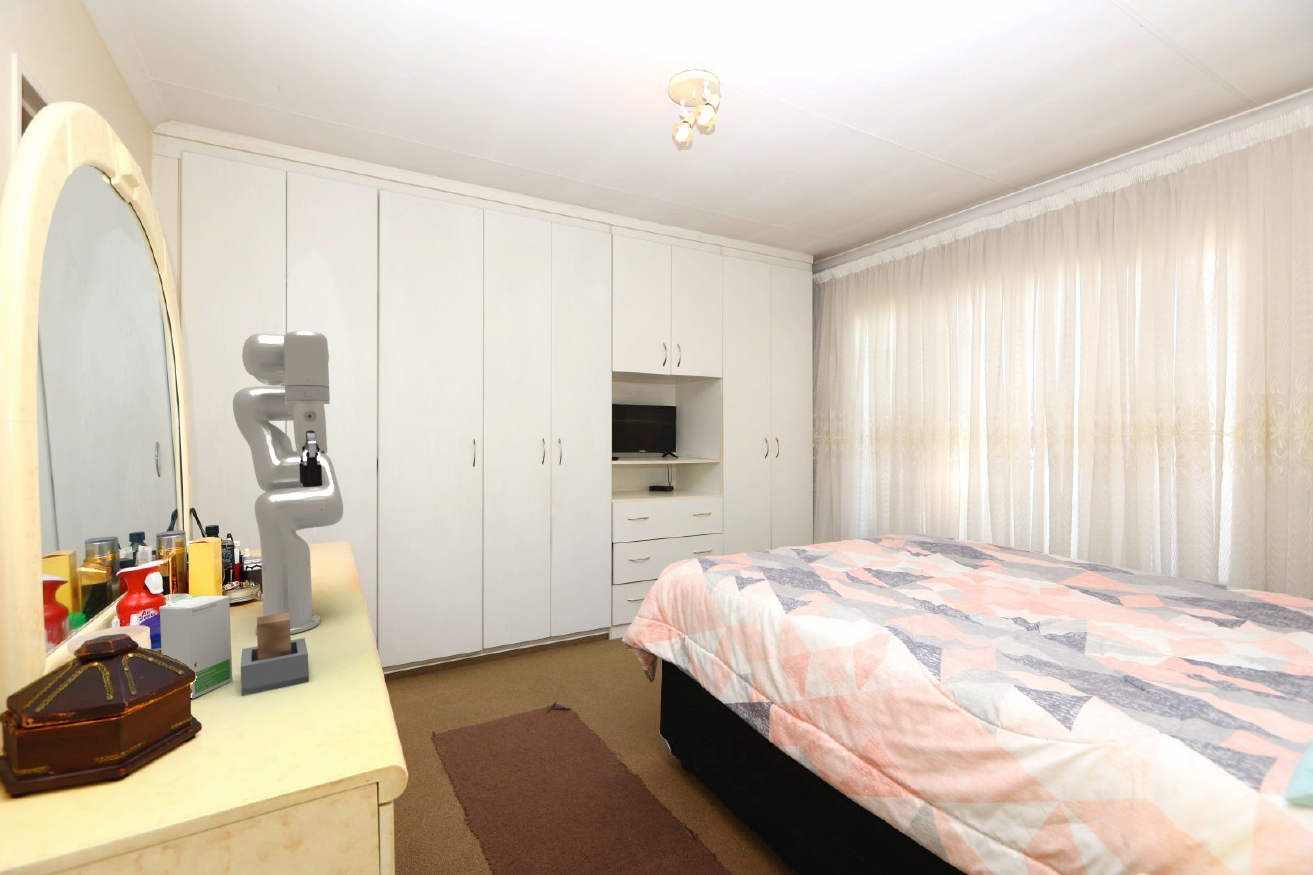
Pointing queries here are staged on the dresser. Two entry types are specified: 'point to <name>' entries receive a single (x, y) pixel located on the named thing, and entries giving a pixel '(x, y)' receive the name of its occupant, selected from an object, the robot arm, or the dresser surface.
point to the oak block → (273, 636)
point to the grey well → (274, 669)
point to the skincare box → (199, 639)
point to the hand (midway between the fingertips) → (310, 484)
